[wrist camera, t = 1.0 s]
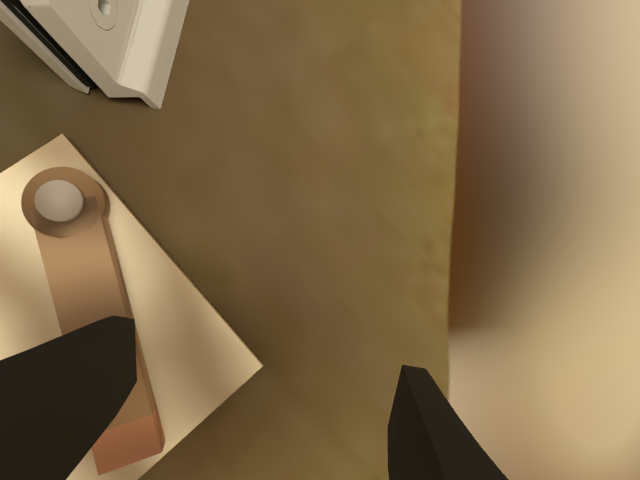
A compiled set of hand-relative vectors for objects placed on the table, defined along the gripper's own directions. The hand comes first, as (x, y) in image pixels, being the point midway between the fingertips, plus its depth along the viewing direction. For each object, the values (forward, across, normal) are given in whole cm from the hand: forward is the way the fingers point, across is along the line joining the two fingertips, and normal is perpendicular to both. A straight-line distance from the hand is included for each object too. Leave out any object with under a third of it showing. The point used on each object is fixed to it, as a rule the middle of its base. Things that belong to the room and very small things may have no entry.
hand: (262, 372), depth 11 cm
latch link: (+9, +11, +5) cm, 15 cm away
